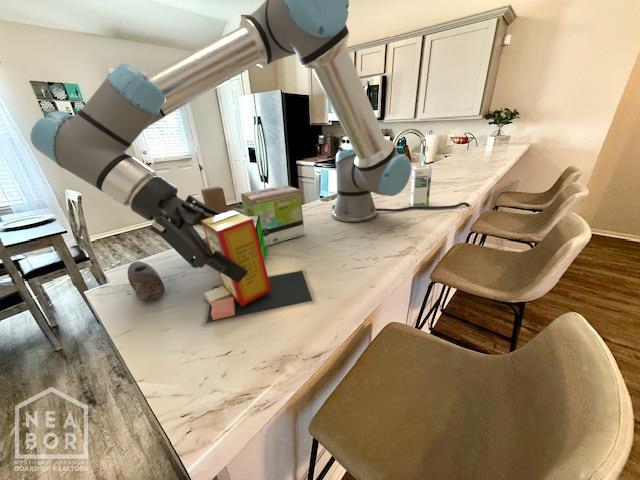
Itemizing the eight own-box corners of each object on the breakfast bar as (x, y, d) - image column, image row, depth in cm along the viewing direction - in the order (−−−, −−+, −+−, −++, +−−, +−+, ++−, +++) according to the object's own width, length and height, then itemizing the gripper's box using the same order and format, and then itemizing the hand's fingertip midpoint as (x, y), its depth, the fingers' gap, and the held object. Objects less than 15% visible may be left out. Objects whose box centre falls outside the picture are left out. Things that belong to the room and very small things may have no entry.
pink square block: (235, 302, 53) (233, 296, 52) (235, 315, 49) (233, 308, 49) (214, 307, 52) (212, 301, 51) (212, 320, 48) (210, 314, 48)
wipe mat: (302, 271, 62) (302, 270, 62) (312, 301, 52) (312, 300, 52) (214, 287, 59) (214, 286, 59) (206, 323, 48) (206, 322, 48)
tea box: (260, 249, 75) (251, 199, 69) (248, 239, 83) (239, 192, 77) (305, 235, 82) (300, 188, 76) (290, 226, 90) (285, 183, 84)
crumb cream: (224, 291, 57) (223, 285, 56) (232, 299, 54) (230, 293, 54) (206, 299, 55) (204, 293, 54) (212, 307, 52) (210, 301, 51)
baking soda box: (271, 290, 53) (252, 216, 47) (241, 306, 50) (216, 229, 43) (251, 274, 60) (232, 208, 54) (223, 287, 57) (199, 218, 50)
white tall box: (412, 208, 98) (415, 168, 92) (409, 203, 104) (412, 165, 98) (428, 207, 97) (432, 167, 91) (425, 203, 102) (428, 164, 96)
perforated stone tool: (128, 283, 63) (117, 258, 60) (152, 274, 66) (143, 250, 64) (143, 310, 53) (130, 281, 50) (170, 298, 56) (160, 270, 53)
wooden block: (205, 260, 71) (187, 195, 64) (200, 255, 75) (182, 192, 67) (237, 249, 77) (223, 187, 69) (230, 244, 80) (217, 185, 72)
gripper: (165, 191, 57) (249, 247, 64) (83, 233, 36) (222, 311, 43) (183, 164, 55) (267, 225, 62) (107, 191, 34) (249, 281, 41)
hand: (249, 260), depth 52 cm, fingers closed on baking soda box, 11 cm apart
